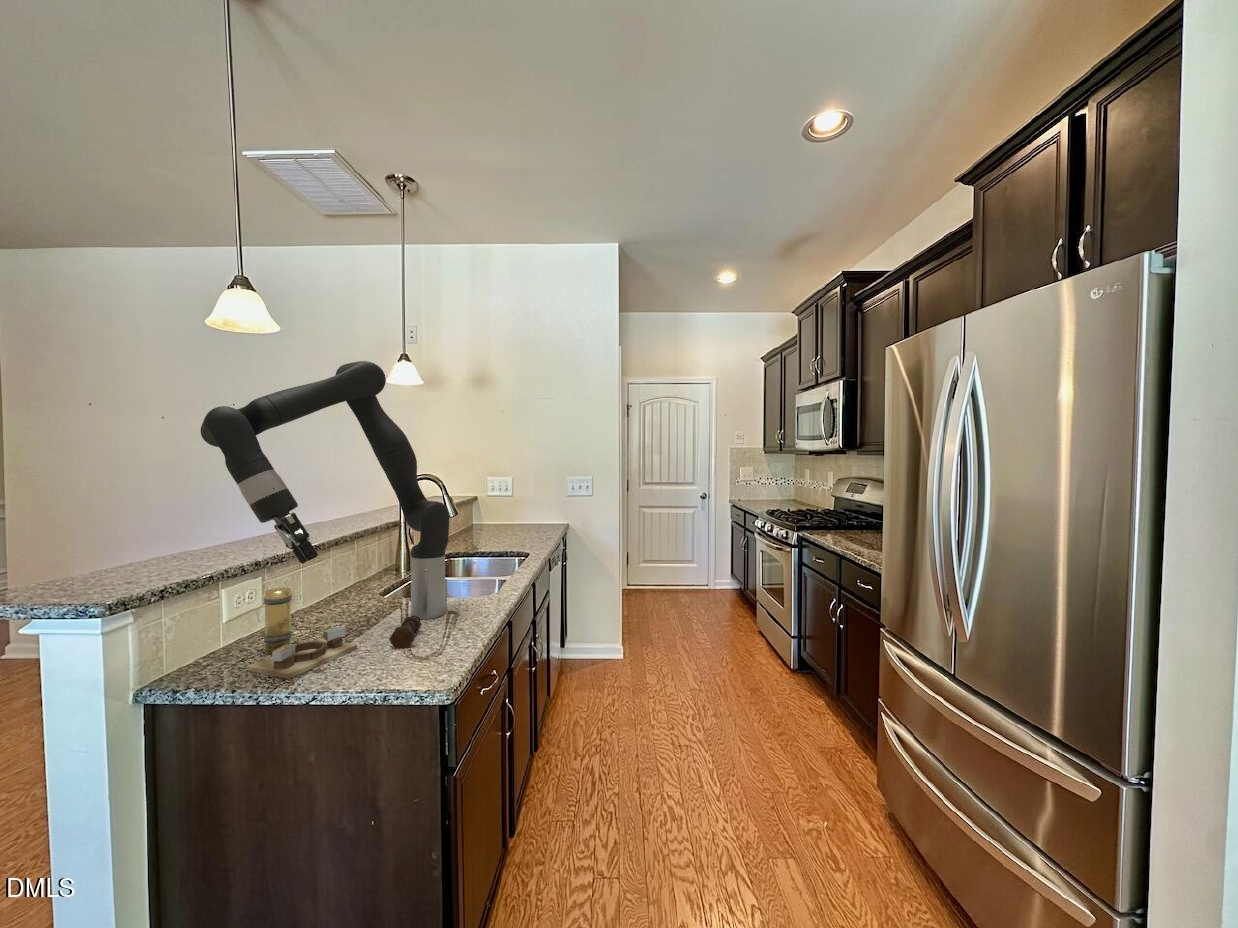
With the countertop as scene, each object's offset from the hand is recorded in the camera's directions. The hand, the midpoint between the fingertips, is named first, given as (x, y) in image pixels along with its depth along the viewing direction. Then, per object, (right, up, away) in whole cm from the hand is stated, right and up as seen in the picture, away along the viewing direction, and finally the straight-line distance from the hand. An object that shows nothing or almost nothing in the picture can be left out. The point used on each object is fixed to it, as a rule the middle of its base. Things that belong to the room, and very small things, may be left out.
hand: (309, 560), depth 105 cm
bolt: (+14, -24, +18) cm, 33 cm away
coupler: (-14, -23, +10) cm, 28 cm away
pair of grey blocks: (-2, -20, +3) cm, 21 cm away
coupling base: (-3, -23, +4) cm, 24 cm away
